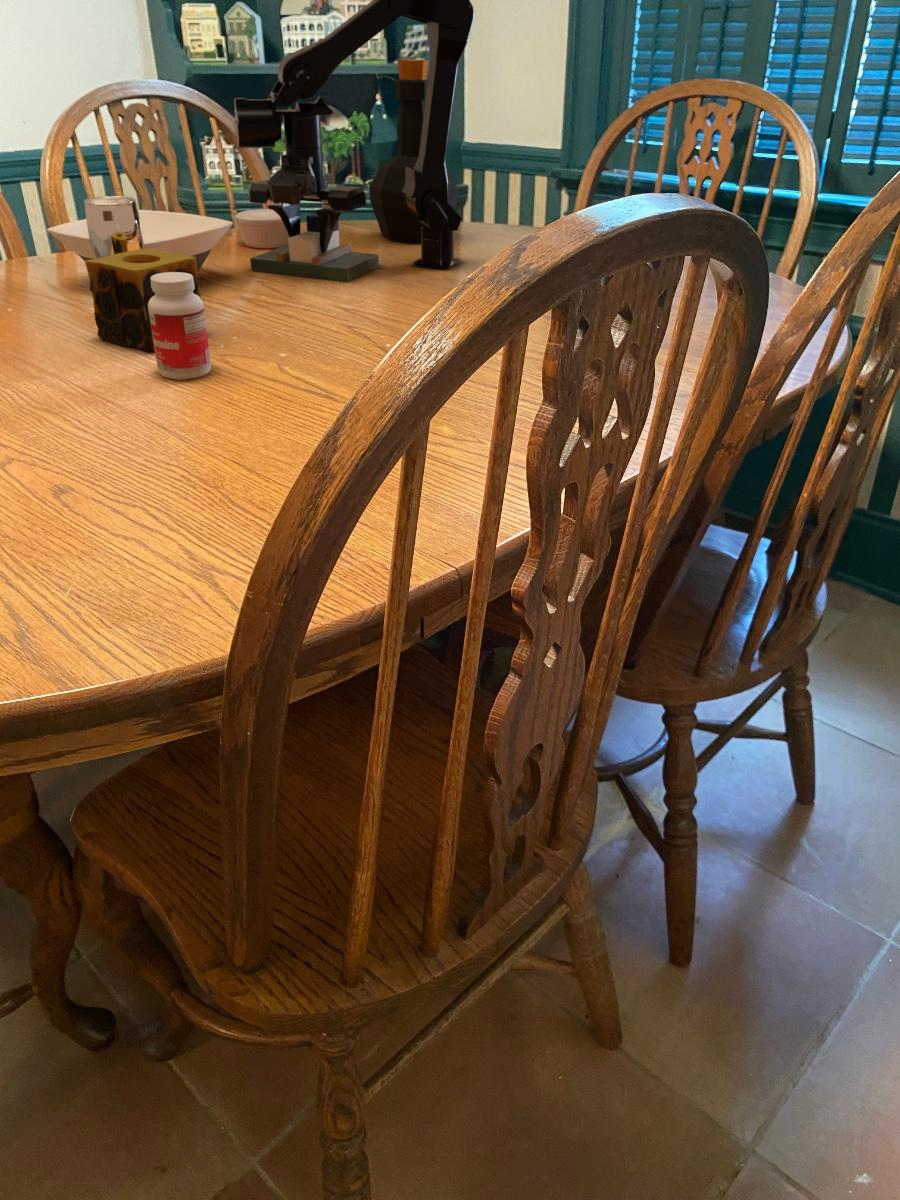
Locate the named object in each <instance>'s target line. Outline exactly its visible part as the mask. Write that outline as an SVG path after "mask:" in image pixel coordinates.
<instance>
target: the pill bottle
mask: <svg viewBox="0 0 900 1200" xmlns="http://www.w3.org/2000/svg"><path fill="white" fill-rule="evenodd" d="M150 280H151V288H152V290H153V292H155V295H154V296H153V297H152V298H151V299H150V300H149V303H148V310H149V317H150V323H151V330H152V337H153V343H154V349H155V351H154V354H155V355H154V356H155V361H156V366H157V371H158V373H159V374H160V375H161V376H162V377H164V378H167V379H170V380H177V381H179V380H181V381H183V380H184V381H185V380H194V379H197V378H200V377H204V376H206V375H207V374H209V373H210V372H211V369H212V363H211V362H212V361H211V354H210V348H209V340H208V339H209V338H208V331H207V321H206V315H205V305H204V302H203V299H202V297H201V298H200V297H199V296H197V295H196V294H194V293H193V290H194V289H195V288H194V287H195V285H194V280H193V276H192V275H191V274H188V273H181V272H166V273H159V274H155V275H153V276H151V278H150Z"/></svg>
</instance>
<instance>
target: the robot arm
mask: <svg viewBox="0 0 900 1200" xmlns="http://www.w3.org/2000/svg"><path fill="white" fill-rule="evenodd" d="M401 17H404V18H406V19H409V20H413V21H415V22H418V23H421V24H426V37H427V38H426V39H427V45H428V51H429V59H430V60H429V68H428V69H429V70H428V71H429V72H428V76H427V80H428V85H427V94H426V102H425V110H424V118H423V127H422V135H421V143H420V151H419V157H418V160H417V162H416V164H415V166H414V168H410V167H406V169H405V178H406V180H405V186H404V188H403V190H402V192H403V193H404V194H406V203H407V205H408V206H409V208H410V209H411V210H412V211H413V212H414V213H416V216H417V219H418V221H419V222H420V223H422V224H423V225H422V226H421V242H420V253H421V254H420V258H419V259H417V260H416V261H414V262H413V265H414V266H419V267H428V268H437V269H445V270H447V269H450V268H452V267H454V266H455V265H458V264H459V263H461V262H462V261H461V260H462V259H461V258H459V257H458V258H456V257H455V232H456V231H458V230H459V227H460V225H461V222H462V217H461V216H460V215H459V213H458V212H457V211H456V209H455V210H454V209H453V208H452V207H451V206H450V205H449V204H448V180H447V173H446V168H447V167H446V156H447V150H448V149H447V148H448V141H449V133H450V127H451V126H450V125H451V120H452V119H451V118H452V113H453V111H452V110H453V105H454V104H453V103H454V96H455V89H456V82H457V81H456V80H457V75H458V67H459V63H460V61H461V58H462V56H463V53H464V52H465V49H466V47H467V44H468V42H469V38H470V35H471V32H472V27H473V24H474V20H475V9H474V5H473V4H472V2H471V0H371V1H370V2H368V3H367V4H366V5H365V6H363V7H362V8H361V9H359V10H358V11H357V12H356V13H354V14H353V15H352V16H351V17H349V18H348V19H347V20H345V21H344V22H343V23H342V24H340V25H339V26H337V27H336V28H335V29H334V30H333V31H331V32H330V33H329V34H327V35H326V36H325V37H323V38H321V39H319V40H318V41H315V42H313V43H311V44H309V45H306V46H304V47H302V48H300V49H297V50H295V51H294V52H291V53H290V54H288V55H286V56H285V57H284V58H283V59H282V60H281V61H280V62H279V64H278V68H277V69H278V70H277V77H278V79H277V81H276V82H275V85H274V87H273V89H272V90H271V91H270V92H269V95H268V96H267V98H264V99H262V98H261V99H260V98H257V99H249V98H245V97H235V98H234V99H233V101H234V120H233V124H234V135H235V140H236V145H237V148H238V149H266V148H267V149H269V148H270V149H271V148H275V147H276V142H277V143H279V141H281V140H282V123H281V116H282V120H283V132H284V147H285V154H282V155H281V159H280V162H281V166H280V169H279V170H276V171H275V172H274V174H273V175H272V176H271V177H270V178H269V179H264V180H259V181H256V182H252V183H250V186H249V188H248V200H249V203H253V204H267V203H268V202H269V205H267V209H271V210H274V211H275V212H276V213H277V214H278V215H279V216H280V218H281V219H282V221H283V223H284V225H285V227H286V229H287V232H288V235H289V237H293V236H296V235H299V234H301V202H302V201H303V202H313V203H321V208H318V209H316V210H315V213H316V214H317V216H318V218H319V223H320V246H321V252H322V253H324V252H326V251H327V248H328V245H329V242H330V239H331V236H332V233H333V230H334V228H335V225H336V223H337V221H338V222H339V219H340V216H341V214H342V212H346V211H347V212H350V211H351V212H352V211H354V210H358V209H360V208H363V207H365V206H367V195H366V193H365V191H364V189H363V188H362V186H354V185H353V186H352V185H351V186H350V185H341V186H337V187H334V188H331V189H329V182H328V180H325V179H324V178H325V177H324V176H325V175H324V161H327V153H326V152H323V143H322V142H323V141H322V124H321V122H322V121H321V116H329V115H330V116H332V115H333V113H334V110H333V109H332V108H330V107H329V106H328V104H327V103H326V102H325V100H324V98H323V97H322V96H318V97H317V98H316V99H315V100H314V101H304V102H302V101H300V102H299V101H298V102H297V100H298V99H301V100H307V99H310V98H312V97H313V96H315V95H316V94H317V93H318V91H319V90H320V89H321V88H322V87H323V86H324V85H325V84H326V82H328V80H329V79H330V78H331V76H332V75H333V73H334V72H335V70H336V69H337V68H338V67H339V66H340V64H342V62H343V61H345V60H346V59H348V57H350V56H351V55H353V54H354V53H355V52H356V51H358V50H359V49H361V47H363V46H364V45H365V44H367V43H368V42H369V41H370V40H372V39H373V38H374V37H376V36H377V35H378V34H380V33H381V32H382V31H383V30H385V29H386V28H387V27H388V26H390V25H391V24H392V23H394V22H395V21H396V20H397V19H399V18H401ZM295 102H296V103H295ZM293 103H295V108H294V109H293V108H292V109H277V108H289V107H290V106H291V105H293Z"/></svg>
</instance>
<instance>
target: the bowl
mask: <svg viewBox="0 0 900 1200" xmlns="http://www.w3.org/2000/svg"><path fill="white" fill-rule="evenodd" d="M138 213H139V218H140V222H141V228H142V233H143V241H144V249H151V250H157V251H163V252H169V253H176V254H182V255H187V256H192V257H195V258H196V262H197V273H198V274H199V271H200V269H201V268H202V267H203V266H204V263H205V262H206V259H207V258H208V257H209V255H210V254H211V252H212V250H213V249H215V247H216V246H217V245H218V243H219V242H220V241H221V240H222V239H223V237H224V236H225V235H226V234H227V233H228V231H230V229H231V228H232V226H233V225H234V222H233V221H230V220H226V219H222V218H217V217H211V216H205V215H201V214H194V213H184V212H173V211H165V210H149V209H138ZM46 232H47V233H49V234H50V235H51V236H53V237H54V238H55V239H57V240H58V241H59V242H60V243H61V244H63V245H64V246H65V247H66V248H68V249H69V250H70V251H72V252H73V253H74V254H75V255H77V256H78V257H79V258H81V259H82V261H83V262H85V261H86V260H92V259H95V257H94V254H93V250H92V247H91V244H90V239H89V234H88V228H87V221H86V218H84V219H83V218H82V219H79V220H75V221H71V222H65V223H60V224H57V225H54V226H51V227H49V228H47V229H46Z"/></svg>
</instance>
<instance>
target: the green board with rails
mask: <svg viewBox="0 0 900 1200" xmlns="http://www.w3.org/2000/svg"><path fill="white" fill-rule="evenodd" d="M249 260H250V271H252V272H258V273H259V272H260V273H268V274H278V275H284V276H293V277H303V278H313V279H320V280H329V281H338V282H347V283H348V282H350V281H352V280H354V279H356V278H358V277H360V276H362V275H364V274H367V273H368V272H371V271H373V270H375V269H377V268H379V254H377V253H366V252H357V251H353V250H352V244H351V243H344V244H342V245H340V246H339V247H337V248H334V249H332V250H329V251H327V252H324V253H322V254H320V255H317V256H315V257H312V263H303V262H294V261H290V256H289V245H285V246H282V247H279V248H273V249H272V250H269V251H267V252H264V253H261V254H258V255H255V256H253V257H250V258H249Z"/></svg>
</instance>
